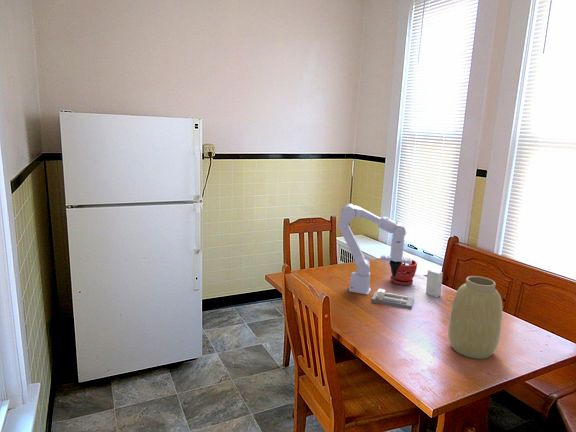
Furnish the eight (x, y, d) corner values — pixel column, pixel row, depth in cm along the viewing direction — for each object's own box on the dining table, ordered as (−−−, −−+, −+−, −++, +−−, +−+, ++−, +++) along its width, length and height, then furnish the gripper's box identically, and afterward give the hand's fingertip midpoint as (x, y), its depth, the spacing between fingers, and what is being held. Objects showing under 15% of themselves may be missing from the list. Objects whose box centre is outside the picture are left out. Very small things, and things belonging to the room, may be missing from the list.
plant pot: (389, 285, 212) (391, 263, 210) (389, 276, 225) (391, 255, 222) (415, 288, 209) (418, 266, 207) (413, 279, 222) (416, 258, 219)
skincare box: (441, 295, 201) (443, 272, 199) (436, 297, 198) (438, 273, 196) (429, 291, 206) (432, 268, 203) (424, 293, 203) (427, 270, 201)
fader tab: (377, 296, 192) (377, 291, 192) (378, 293, 196) (379, 288, 195) (383, 297, 191) (384, 292, 191) (384, 294, 195) (385, 289, 194)
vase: (503, 350, 152) (515, 282, 146) (485, 368, 140) (496, 294, 134) (458, 333, 164) (467, 269, 158) (437, 347, 152) (446, 279, 146)
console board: (371, 301, 191) (371, 296, 190) (375, 294, 200) (375, 289, 199) (411, 309, 184) (411, 304, 184) (413, 301, 193) (414, 296, 193)
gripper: (380, 248, 195) (377, 275, 198) (411, 253, 189) (408, 281, 192) (383, 245, 201) (380, 271, 204) (413, 249, 196) (410, 276, 199)
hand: (394, 275), depth 199 cm, fingers closed
